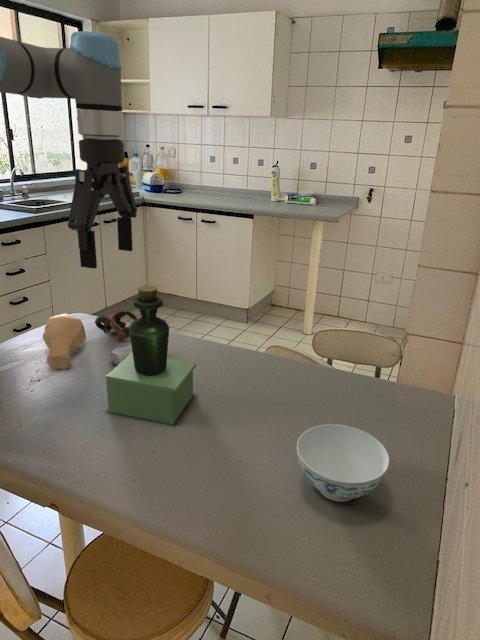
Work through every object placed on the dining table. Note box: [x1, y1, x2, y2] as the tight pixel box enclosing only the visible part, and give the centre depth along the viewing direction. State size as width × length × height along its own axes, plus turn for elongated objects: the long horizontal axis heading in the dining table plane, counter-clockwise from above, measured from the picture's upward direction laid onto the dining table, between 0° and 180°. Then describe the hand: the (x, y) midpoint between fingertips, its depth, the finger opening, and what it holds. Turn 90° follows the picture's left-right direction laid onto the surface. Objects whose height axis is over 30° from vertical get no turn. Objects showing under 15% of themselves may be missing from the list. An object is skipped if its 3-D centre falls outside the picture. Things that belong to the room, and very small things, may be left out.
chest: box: [105, 370, 194, 425], centre depth 100 cm, size 15×12×8 cm
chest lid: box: [105, 353, 197, 392], centre depth 98 cm, size 15×12×1 cm
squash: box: [42, 313, 87, 370], centre depth 121 cm, size 11×20×9 cm, turn 15°
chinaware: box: [296, 423, 390, 502], centre depth 78 cm, size 15×15×8 cm
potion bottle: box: [128, 284, 170, 376], centre depth 95 cm, size 8×8×18 cm
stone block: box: [110, 345, 132, 367], centre depth 118 cm, size 12×5×10 cm
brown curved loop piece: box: [94, 309, 138, 342], centre depth 133 cm, size 12×10×8 cm
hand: (108, 258), depth 88 cm, fingers open, 13 cm apart
